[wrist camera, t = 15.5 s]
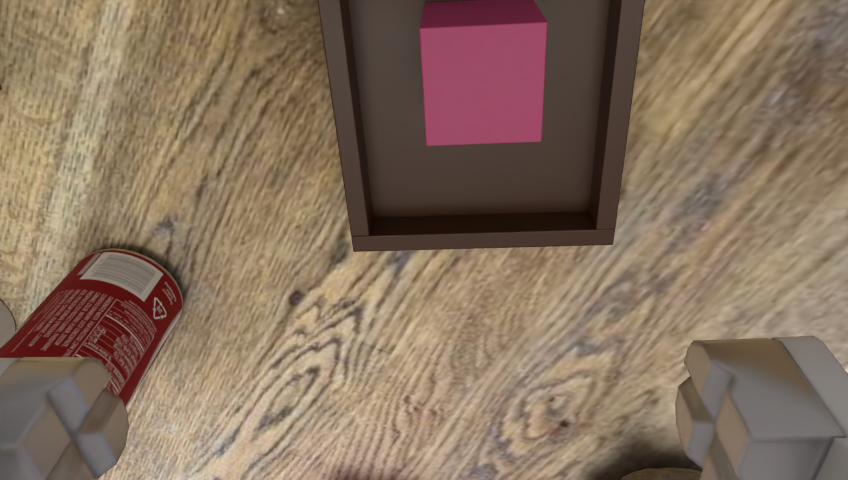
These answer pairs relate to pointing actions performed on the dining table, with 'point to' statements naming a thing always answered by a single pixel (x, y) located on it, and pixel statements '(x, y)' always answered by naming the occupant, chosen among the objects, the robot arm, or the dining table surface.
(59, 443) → the robot arm
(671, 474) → the bowl
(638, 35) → the tray
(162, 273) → the soda can
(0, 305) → the coffee cup
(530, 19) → the pink block
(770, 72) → the dining table surface
